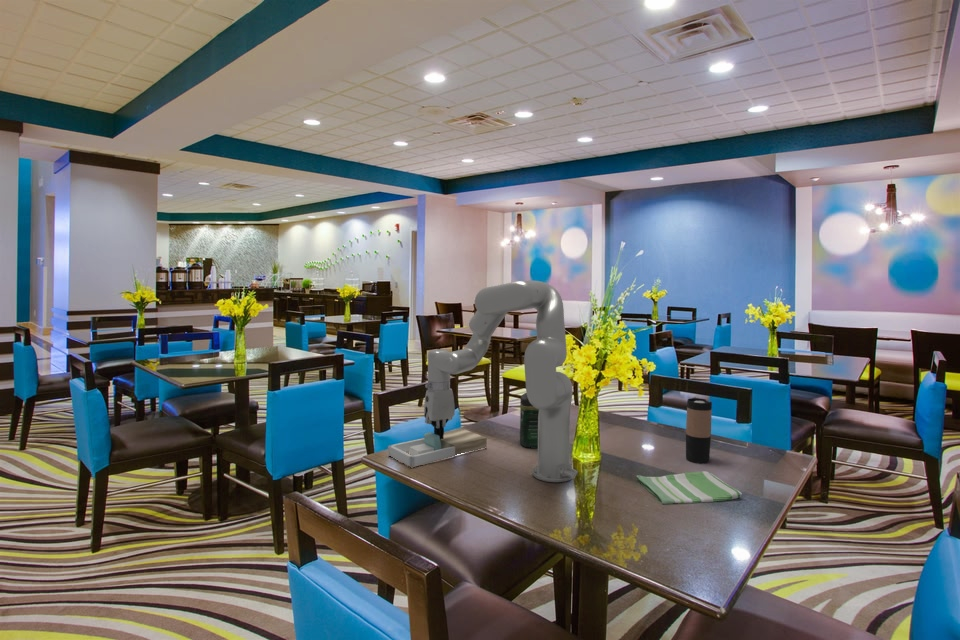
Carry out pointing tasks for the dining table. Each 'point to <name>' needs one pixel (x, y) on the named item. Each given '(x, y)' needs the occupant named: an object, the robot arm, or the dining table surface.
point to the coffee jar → (528, 423)
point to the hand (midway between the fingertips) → (438, 438)
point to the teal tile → (432, 440)
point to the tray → (400, 454)
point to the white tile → (420, 449)
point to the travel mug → (698, 430)
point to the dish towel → (689, 488)
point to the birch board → (463, 441)
